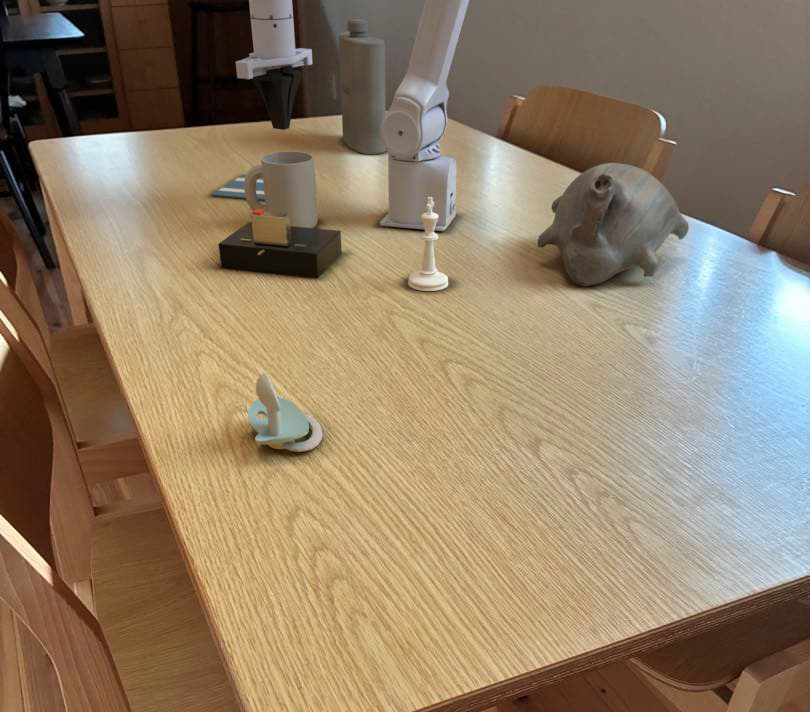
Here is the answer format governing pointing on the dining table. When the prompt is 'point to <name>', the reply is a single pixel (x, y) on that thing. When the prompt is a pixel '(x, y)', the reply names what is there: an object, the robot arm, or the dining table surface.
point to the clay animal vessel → (612, 223)
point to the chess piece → (428, 257)
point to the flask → (362, 88)
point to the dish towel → (240, 189)
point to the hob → (282, 252)
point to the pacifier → (281, 420)
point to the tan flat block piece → (271, 228)
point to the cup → (285, 186)
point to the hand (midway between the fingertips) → (281, 128)
